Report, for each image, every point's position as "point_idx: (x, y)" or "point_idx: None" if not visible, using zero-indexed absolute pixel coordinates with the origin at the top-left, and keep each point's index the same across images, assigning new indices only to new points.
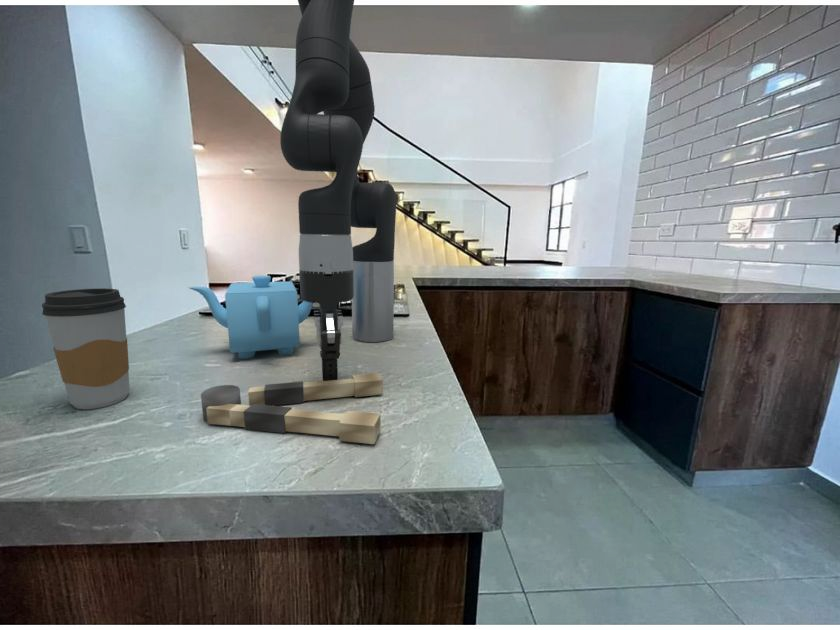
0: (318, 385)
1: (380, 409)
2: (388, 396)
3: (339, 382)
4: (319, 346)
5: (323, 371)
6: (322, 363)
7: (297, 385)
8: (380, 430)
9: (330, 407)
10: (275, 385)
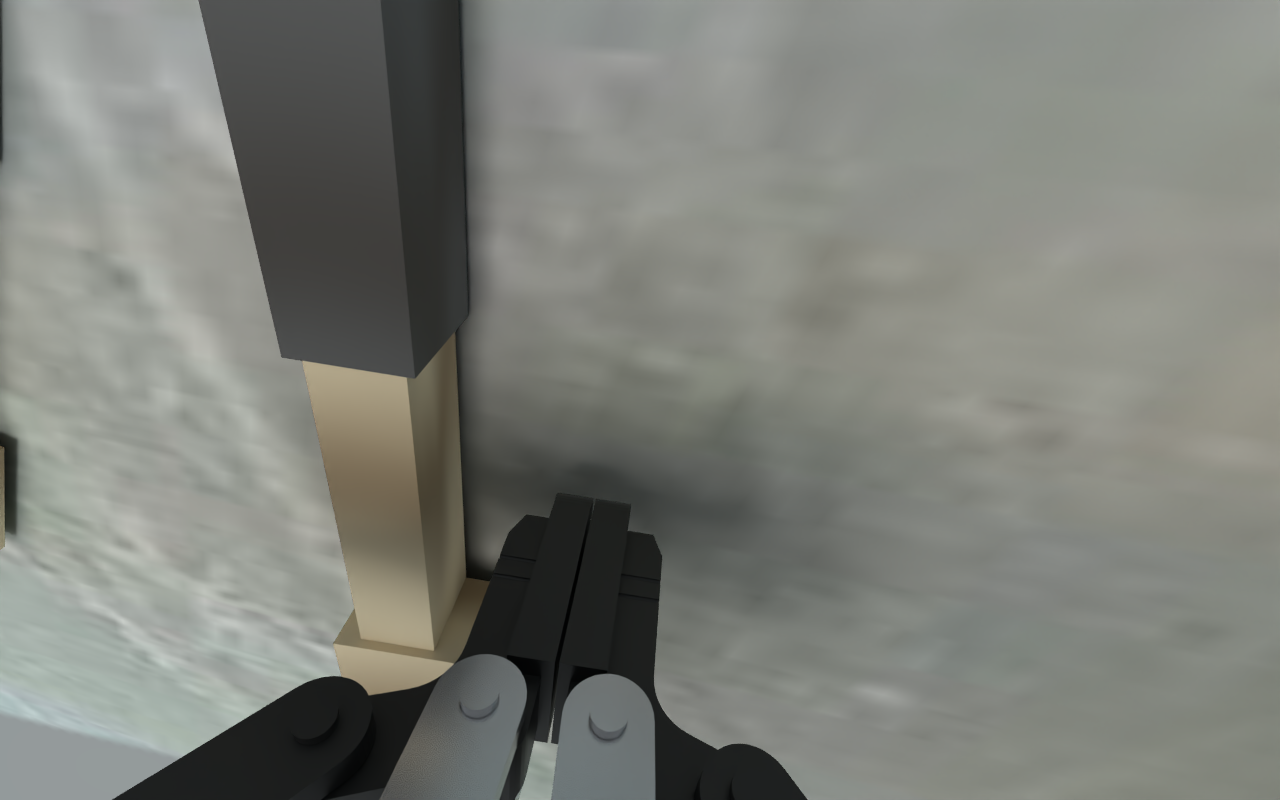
0: (334, 461)
1: (255, 602)
2: None
3: (377, 580)
4: (739, 770)
5: (540, 560)
6: (520, 620)
7: (313, 318)
8: (1, 547)
9: (290, 427)
10: (336, 95)
